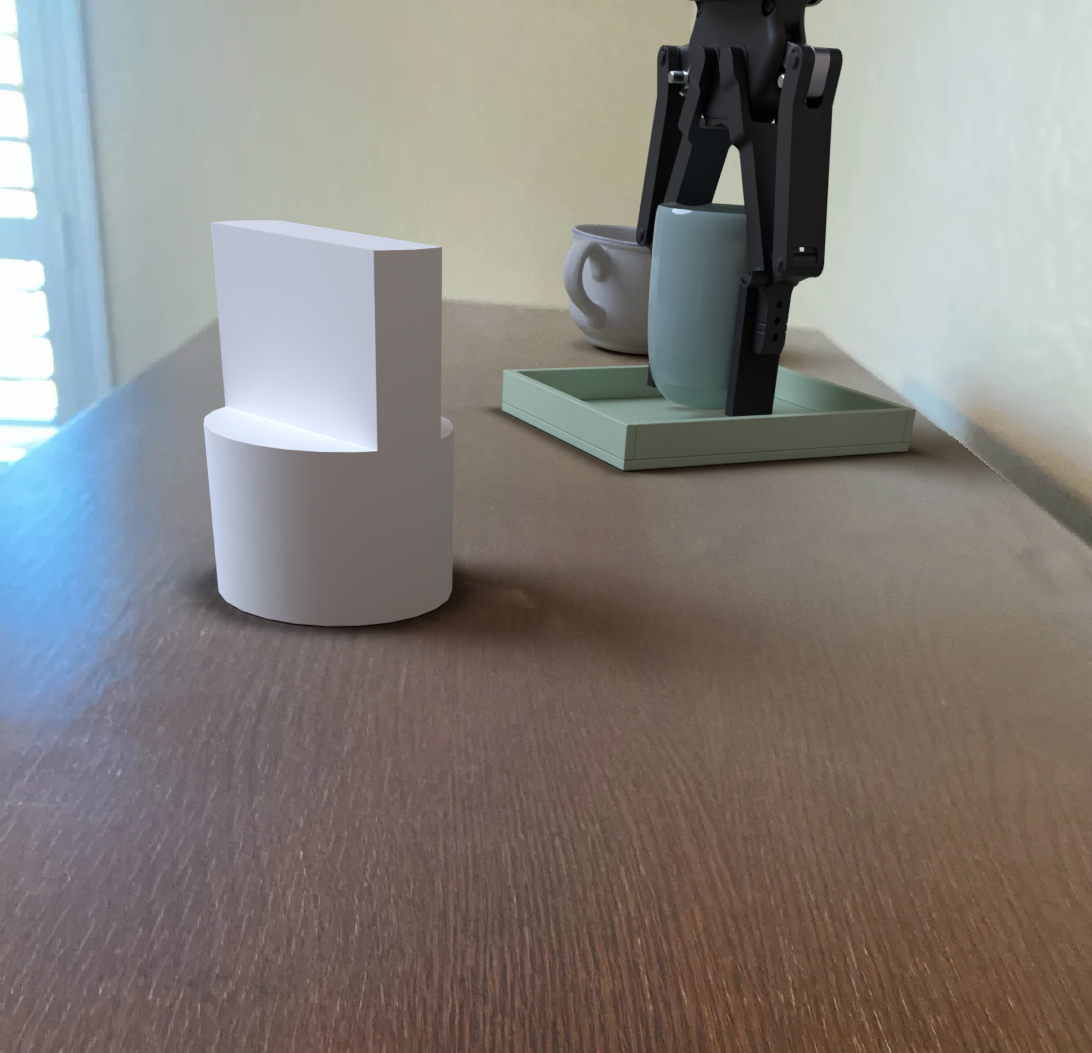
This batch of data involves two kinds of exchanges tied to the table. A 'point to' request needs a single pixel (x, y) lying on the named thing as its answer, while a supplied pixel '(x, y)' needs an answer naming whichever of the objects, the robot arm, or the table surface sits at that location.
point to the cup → (695, 300)
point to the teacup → (609, 286)
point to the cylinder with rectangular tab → (329, 426)
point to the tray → (700, 419)
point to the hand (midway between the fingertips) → (707, 399)
